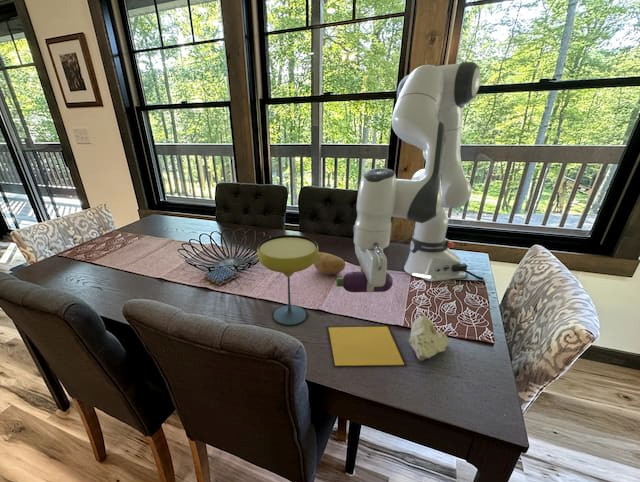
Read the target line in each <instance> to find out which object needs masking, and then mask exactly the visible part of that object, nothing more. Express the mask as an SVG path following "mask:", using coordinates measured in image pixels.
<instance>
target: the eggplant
mask: <svg viewBox="0 0 640 482" xmlns="http://www.w3.org/2000/svg"><path fill="white" fill-rule="evenodd" d="M335 279H336V280H335V285H336V287H337V288H340V287H342V288H343V289H344V290H345V291H346V292H348V293H368V292H367V290H366V283H367V282H368V281H367V279H366V276H365V274H364V272H361V271H350V272H347V273H345V274H344V275H343V276H342V277H336V278H335ZM393 284H394V280H393V278H392V276H391V274H390V273H389V272H387V271H386V281H385V284H384V286H380V287H374V291H373V292H372V293H383V292H387V291H389V290H390V289H391V288H392V286H393Z"/></svg>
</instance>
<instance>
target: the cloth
mask: <svg viewBox="0 0 640 482" xmlns="http://www.w3.org/2000/svg"><path fill="white" fill-rule="evenodd" d="M328 333H329V338H330V344H331V350H332V355H333V362H334V366H335V367H357V366H358V367H361V366H362V367H367V366H369V367H371V366H377V367H378V366H405V362H404V361H403V358H402V356H401V354H400V352H399V350H398V347H397V344H396V343H395V340H394V338H393V336H392V334H391V331H390V329H389V327H388V326H338V327H337V326H332V327H330V326H329V327H328Z"/></svg>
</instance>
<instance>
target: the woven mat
mask: <svg viewBox="0 0 640 482" xmlns="http://www.w3.org/2000/svg"><path fill="white" fill-rule="evenodd" d="M239 276H240V275H239V274H238V272H237V271H235V270H232V269H230V268H228V267H225V266H220V267H217V268H216V269H214V270H211V271H210V272H209V271H208V272H207V273H204V278H205V279H206V280H207V281H210V282H211V283H214V284H215V285H218V286H222V285H223V284H225V283H226V284H227V282H230V281H232V280H233V279H236V278H238V277H239Z"/></svg>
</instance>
